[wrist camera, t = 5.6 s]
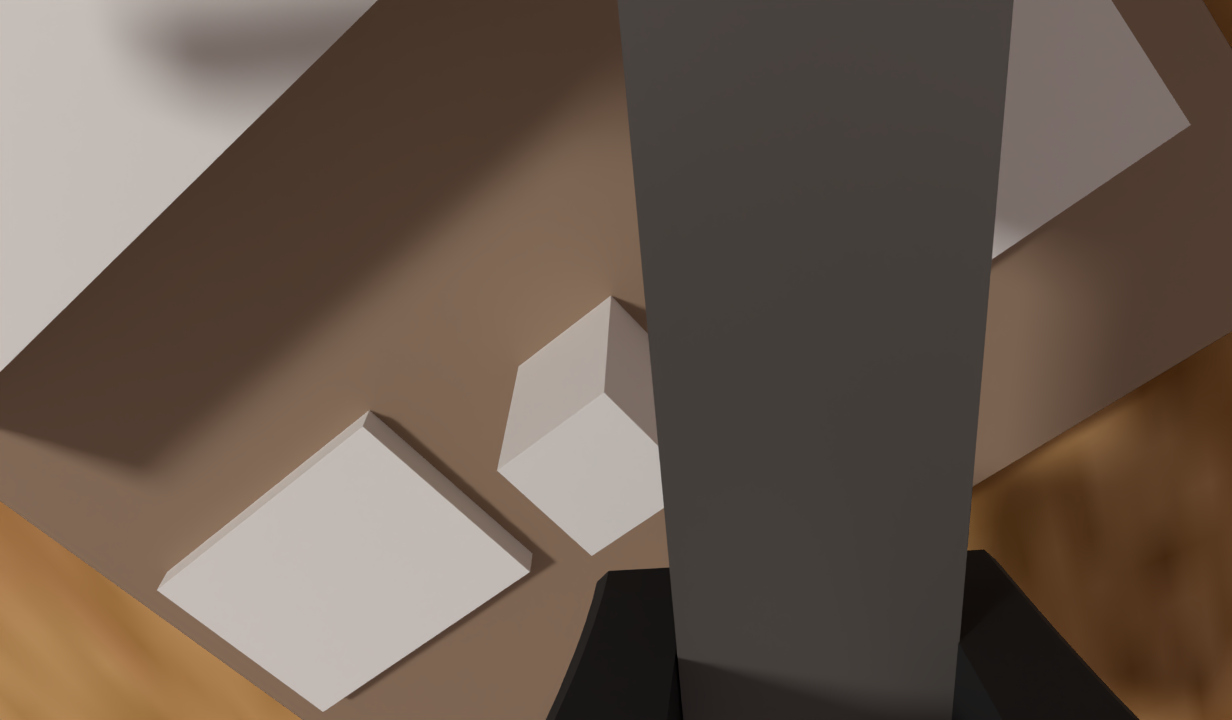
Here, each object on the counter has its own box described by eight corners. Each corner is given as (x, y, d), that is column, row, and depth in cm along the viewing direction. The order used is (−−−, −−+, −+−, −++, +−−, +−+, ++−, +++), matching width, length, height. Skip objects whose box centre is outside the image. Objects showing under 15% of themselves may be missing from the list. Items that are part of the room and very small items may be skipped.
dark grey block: (855, -271, 9) (1034, -247, 5) (841, 812, 16) (911, 1206, 12) (-369, -141, 10) (-1116, -22, 6) (122, 843, 17) (-52, 1224, 13)
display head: (1305, 217, 18) (1521, 383, 14) (441, 755, 25) (395, 982, 21) (453, -1176, 11) (316, -1788, 7) (-420, 107, 18) (-777, 237, 14)
